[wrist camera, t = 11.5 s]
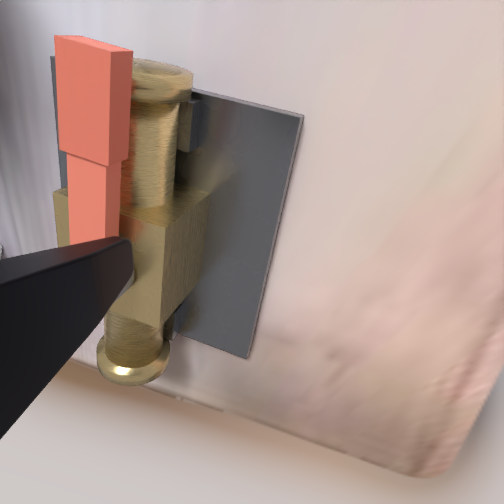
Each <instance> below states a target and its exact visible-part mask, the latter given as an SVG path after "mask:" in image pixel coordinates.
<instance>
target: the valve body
mask: <svg viewBox="0 0 504 504" xmlns="http://www.w3.org/2000/svg"><path fill="white" fill-rule="evenodd" d="M50 58H51V70H52V82H53V94H54V106H55V118H56V130H57V142H58V154H59V166H60V177H61V189H59V190H57V191H54V192H53V200H54V210H55V221H56V231H57V241H58V248H59V247H64V246H68V245H70V234H69V206H68V179H67V152H65V151H62V150H59V130H58V108H57V86H56V64H55V56H50ZM192 82H193V73H192V72H190V71H188V70H186V69H183V68H180V67H177V66H174V65H170V64H166V63H161V62H156V61H151V60H145V59H139V58H133V65H132V86H131V107H130V128H129V149H128V158H127V159H125V160H123V161H121V186H120V211H119V237H122V238H126V239H129V240H130V241H131V243H132V251H133V264H134V281H133V284H132V286H131V287H130V288H129V289H128V290H127V291H126V292H125V293H124V294H123V295H122V296H121V297H120V298H118V299H117V300H116V301H115V302H114V303H113V304H112V306H111V307H110V309H109V310H108V312H107V313H106V315H105V316H104V336H103V337H102V338H101V339H100V341H99V343H98V345H97V351H96V352H97V366H98V370H99V371H100V373H101V374H102V376H103V377H104V378H106V379H107V380H109V381H111V382H113V383H115V384H118V385H124V386H137V385H142V384H145V383H148V382H151V381H153V380H154V379H156V378H157V377H159V376H160V375H161V374H162V373H163V372H164V371H165V369H166V367H167V365H168V362H169V353H170V343H169V340H171V341H172V340H173V339H174V338H175V336H176V335H177V334H181V335H184V336H186V337H189V338H192V339H194V340H197V341H200V342H202V343H205V344H207V345H210V346H213V347H215V348H218V349H221V350H223V351H226V352H229V353H231V354H234V355H237V356H239V357H242V358H245V359H247V357H248V355H249V353H250V350H251V345H252V341H253V337H254V332H255V328H256V323H257V319H258V315H259V310H260V306H261V302H262V297H263V293H264V288H265V284H266V280H267V275H268V271H269V267H270V262H271V258H272V253H273V249H274V245H275V240H276V236H277V232H278V227H279V223H280V218H281V214H282V210H283V205H284V201H285V197H286V192H287V188H288V183H289V179H290V175H291V170H292V166H293V162H294V157H295V153H296V148H297V144H298V140H299V135H300V131H301V127H302V122H303V118H304V115H301V114H297V113H293V112H289V111H285V110H281V109H277V108H273V107H269V106H265V105H260V104H256V103H252V102H248V101H244V100H240V99H236V98H232V97H228V96H224V95H219V94H215V93H211V92H207V91H203V90H199V89H195V88H192ZM168 339H169V340H168Z"/></svg>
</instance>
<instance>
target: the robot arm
mask: <svg viewBox="0 0 504 504" xmlns="http://www.w3.org/2000/svg"><path fill="white" fill-rule="evenodd" d="M133 270H134V264H133V251H132V243H131V241H130V240H129V239H126V238H122V237H118V236H112V237H107V238H102V239H97V240H92V241H88V242H83V243H78V244H73V245H68V246H64V247H59V248H54V249H49V250H44V251H39V252H35V253H30V254H25V255H20V256H15V257H11V258H6V259H1V260H0V439H1V438H2V437H3V436H4V435H5V434H6V432H7V431H8V430H9V429H10V427H11V426H12V425H13V424H14V423H15V422H16V421H17V419H18V418H19V417H20V416H21V415H22V414H23V412H24V411H25V410H26V409H27V408H28V406H29V405H30V404H31V403H32V402H33V401H34V399H35V398H36V397H37V396H38V395H39V394H40V392H41V391H42V390H43V389H44V388H45V387H46V385H47V384H48V383H49V382H50V381H51V379H52V378H53V377H54V376H55V375H56V374H57V372H58V371H59V370H60V369H61V368H62V367H63V365H64V364H65V363H66V362H67V361H68V360H69V358H70V357H71V356H72V355H73V354H74V352H75V351H76V350H77V349H78V348H79V347H80V345H81V344H82V343H83V342H84V341H85V340H86V338H87V337H88V336H89V335H90V334H91V332H92V331H93V330H94V329H95V328H96V326H97V325H98V324H99V323H100V321H101V320H102V319H103V317H104V316H105V315H106V313H107V312H108V310H109V309H110V307H111V306H112V304H113V303H114V301H115V300H116V299H117V297H118V296H119V294H120V293H121V291H122V290H123V288H124V287H125V285H126V284H127V282H128V281H129V280H130V278H131V276H132V274H133Z"/></svg>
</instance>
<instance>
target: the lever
mask: <svg viewBox="0 0 504 504" xmlns="http://www.w3.org/2000/svg"><path fill="white" fill-rule="evenodd" d="M54 42H55V64H56V86H57V108H58V130H59V150H62V151H65V152H67V179H68V206H69V234H70V245H73V244H78V243H83V242H88V241H92V240H97V239H102V238H107V237H112V236H118V237H119V211H120V186H121V161H123V160H125V159H127V158H128V149H129V128H130V107H131V86H132V65H133V51H132V50H128V49H125V48H121V47H118V46H114V45H111V44H107V43H104V42H100V41H97V40H93V39H90V38H86V37H83V36H63V35H54ZM133 281H134V270H133V274H132V276H131V278H130V280H129V281H128V282H127V284H126V285H125V287H124V288H123V290H122V291H121V293H120V294H119V296H118V297H117V299H118V298H120V297H121V296H122V295H123V294H124V293H125V292H126V291H127V290H128V289H129V288H130V287H131V286H132V284H133ZM117 299H116V300H117ZM116 300H115V301H116ZM115 301H114V302H115Z"/></svg>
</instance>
